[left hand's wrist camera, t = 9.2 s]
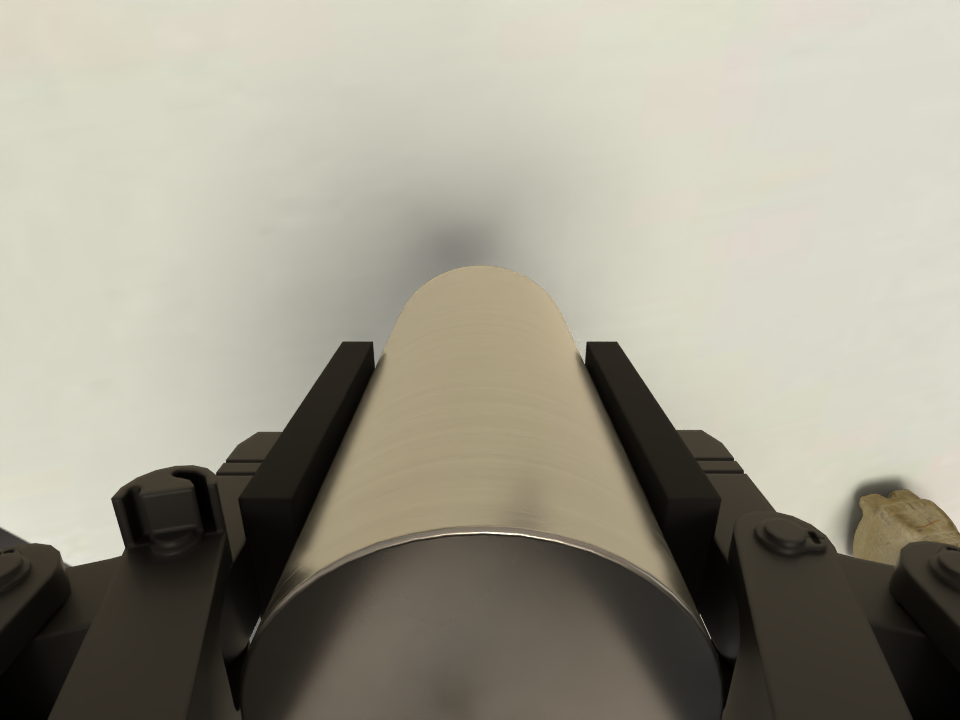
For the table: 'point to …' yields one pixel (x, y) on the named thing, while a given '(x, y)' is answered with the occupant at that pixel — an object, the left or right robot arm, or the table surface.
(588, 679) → the canister
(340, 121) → the table surface
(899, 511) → the sculpture
